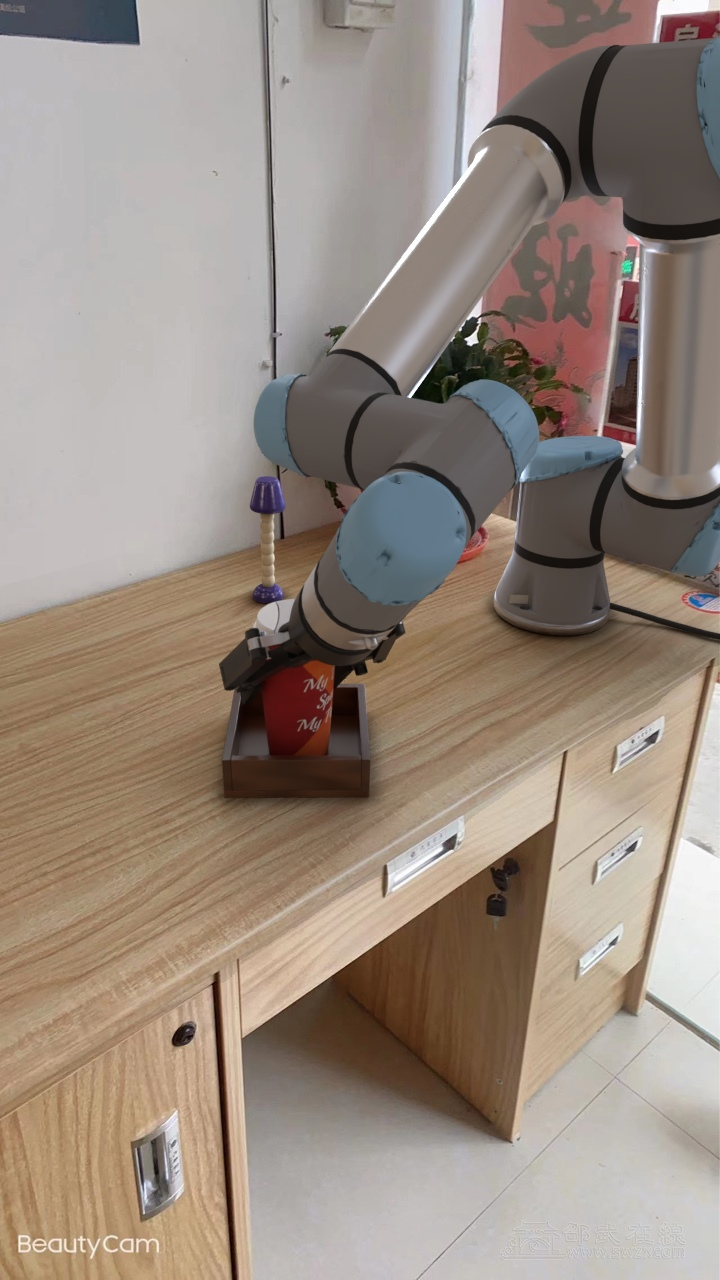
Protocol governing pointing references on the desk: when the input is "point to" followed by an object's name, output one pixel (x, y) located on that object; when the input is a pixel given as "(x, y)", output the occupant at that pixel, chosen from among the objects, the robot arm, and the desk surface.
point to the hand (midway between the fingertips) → (287, 684)
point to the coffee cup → (295, 696)
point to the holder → (298, 774)
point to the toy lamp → (267, 534)
